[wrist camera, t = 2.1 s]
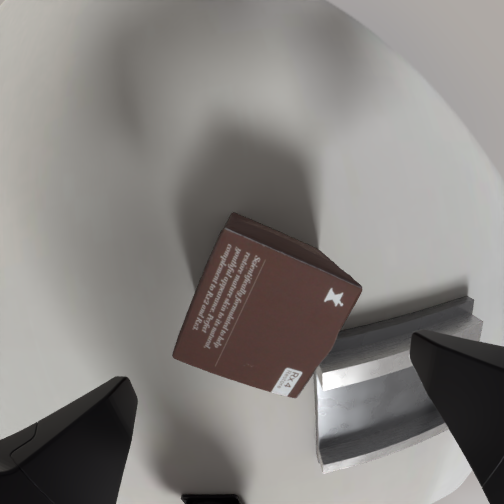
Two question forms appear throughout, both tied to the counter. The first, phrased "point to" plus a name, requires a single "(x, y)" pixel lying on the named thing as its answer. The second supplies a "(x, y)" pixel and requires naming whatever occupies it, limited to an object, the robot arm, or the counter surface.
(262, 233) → the box
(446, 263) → the counter surface
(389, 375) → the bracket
